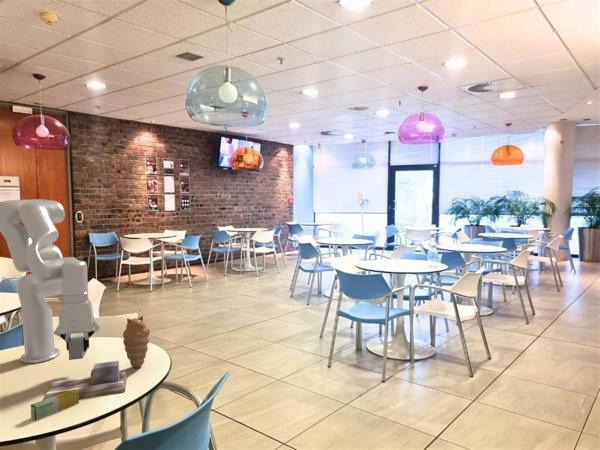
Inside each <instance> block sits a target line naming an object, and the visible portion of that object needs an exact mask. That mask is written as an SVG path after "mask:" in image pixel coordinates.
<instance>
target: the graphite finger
mask: <svg viewBox="0 0 600 450" xmlns="http://www.w3.org/2000/svg"><path fill="white" fill-rule="evenodd" d="M84 338H85V337H84V335H78V336H72V337H71V339H70V341H69V350H68V360H69V361H73V360H81V359H84V357H85V356H86V354H87V351H86V352H84Z"/></svg>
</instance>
